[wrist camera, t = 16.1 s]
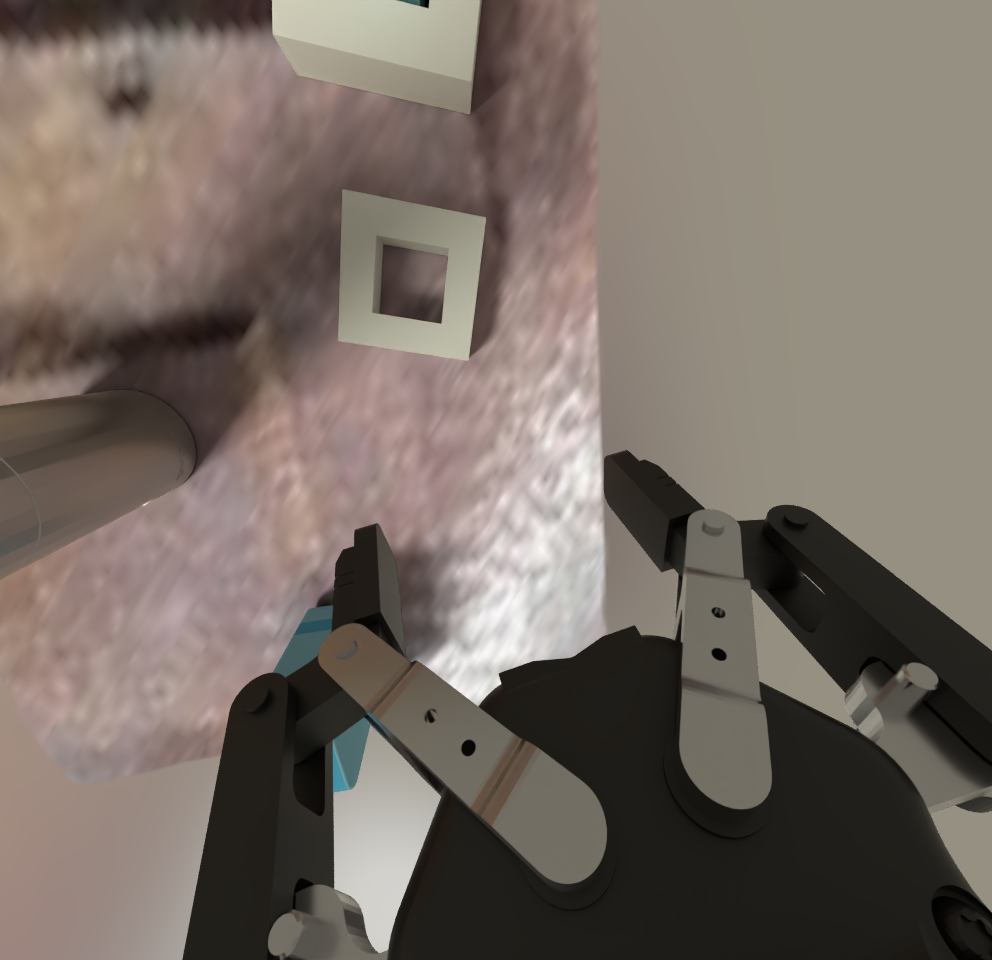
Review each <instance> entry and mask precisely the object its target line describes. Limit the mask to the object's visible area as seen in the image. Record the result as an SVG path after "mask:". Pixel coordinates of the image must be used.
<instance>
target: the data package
mask: <svg viewBox="0 0 992 960" xmlns="http://www.w3.org/2000/svg"><path fill="white" fill-rule="evenodd" d="M332 614H333V605H329V606H323V607H316V608H311V609H309V610H308V611H307V612H306V614H305V616H304V618H303V620H302V621H301V623H300V625H299V627H298V628H297V630H296V632H295V634H294V636H293V637H292V639H291V641H290V643H289V644H288V646H287V648H286V650H285V652H284V653H283V655H282V657H281V659H280V660H279V662H278V664H277V666H276V668H275V669H274V671H273V673H279V674H281V675H283V676H284V677H287V676H288V675H290V674H292V673H293V672H295V671H296V670H298V669H299V668H301V667H303V666H304V665H306V664H307V663H309V662H310V661H312V660H313V659H314V658H315V657H316V656H317V655H318V654H319V650H320V647H321V645H322V643H323V642H324V640H325V639H326V638H327V637H328V636H329V635H330V634H331V630H332ZM369 727H370V724H369V723H368V722H367V721H366V720H365V719H364V718H363V719H361V720H360V721H358V722H357V723H356V724H354V725H353V726H352V727H350V728H349V729H348V730H346V731H345V732H343V733H342V734H341V735H339V736H338V737H337V738H335V739H334V740H333V792H339V791H345V790H350V789H352V788H353V787H354V786H355V784H356V782H357V779H358V774H359V770H360V766H361V762H362V757H363V753H364V748H365V744H366V740H367V736H368V732H369Z"/></svg>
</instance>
